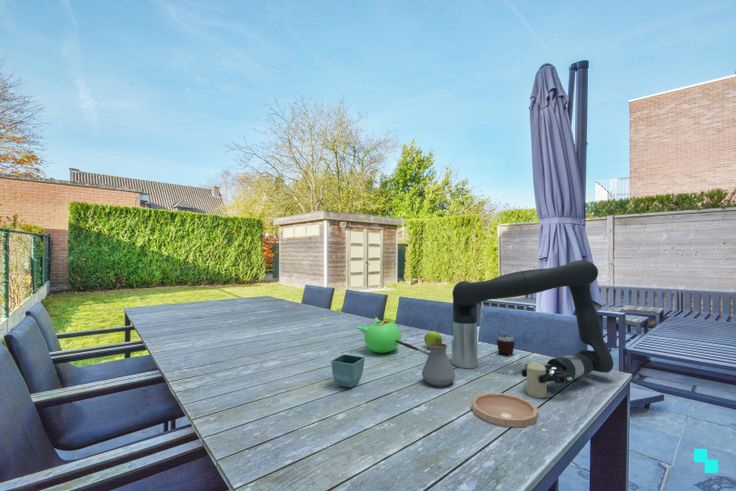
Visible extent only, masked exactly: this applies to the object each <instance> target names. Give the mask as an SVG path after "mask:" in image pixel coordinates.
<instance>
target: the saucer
mask: <svg viewBox="0 0 736 491" xmlns="http://www.w3.org/2000/svg"><path fill="white" fill-rule="evenodd" d="M470 403H471V410H472V411H473V413H474V415H475V416H476V417H478V418H480V419H481V420H483V421H485V422H487V423H489V422H490V424H493V425H497V426H501V427H504V428H526V427H529V426H532V425H535V424H536V423H537V422H538V418H539V409H538V408H537V407H536V405H535V404H534V403H533V402H531V401H529V400H527V399H524V398H522V397H520V396H519V395H518V396H517V395H512V394H507V393H501V392H486V393H481V394H477V395H475V396H474V398H472V399H471V402H470Z"/></svg>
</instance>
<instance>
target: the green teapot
mask: <svg viewBox="0 0 736 491" xmlns="http://www.w3.org/2000/svg"><path fill="white" fill-rule="evenodd" d="M356 329H357V330H358V331H360V332H362V333H364V342H365V345H366V346H367V348H368V349H369V350H371V351H372V352H375V353H379V354H385V353H390V352H391V351H392V352H393V351H394V350H396V348H397V347H399V345H400V343H397V342H396V344H395V343H394V341H395V340H398V341H400V342H401V341H402V340H401V339H402V333H401V330H400V328H399V326H397V324H395V323H394V322H391V321H389V320H387V319H386V320H380V319H379V318H378V317H374V319H373V323H371V324H370V325H369V326H368V325H367V326H366V325H358V326H357V327H356Z"/></svg>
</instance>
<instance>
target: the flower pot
mask: <svg viewBox="0 0 736 491" xmlns="http://www.w3.org/2000/svg"><path fill="white" fill-rule="evenodd" d="M330 363H331V370H332V377H333V378H334V379H333V380H334V381H335V383H336V385H337V386H338V385H339V386H338V387H341V386H345V387H344V388H346V387H352V388H354V387H355V386H356V385H357V384H358V383H359V381H360V380H361V378H362V375H363V371H364V368H365V366H364V365H365V356H358V355H352V354H345V353H344V354H341V355H339V356H338V357H336V358H334V359H332V360H331V361H330ZM354 385H355V386H354ZM353 386H354V387H353Z"/></svg>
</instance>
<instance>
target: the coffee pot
mask: <svg viewBox="0 0 736 491" xmlns="http://www.w3.org/2000/svg"><path fill="white" fill-rule="evenodd" d="M396 342H397V343H399V345H400V346H401V345H402V346H404V347H406V348H409V349H411V350H414V351H417V352H420V353H422V354H424V355H427V356H428V357H427V359H426V361H425V363H424V365H423V366H424V367H423V368H422V371H421V375H422V378H423V379H424V380H425V382H427V384H428V383H429V385H430V384H431V385H430V386H433V385H435V386H434V387H447V386H450V384H451V383H452V382H453V381H454V380H455V378H456V372H455V371H454V369H453V366H452V362H451V361H450V359H449V356H448V354H447V352H446V351H447V348H448V345H447V344H446V343H443V342H442V343H431V344H429V349H430V352H428V351H426V350H423V349H421V348H418V347H416V346H414V345H412V344H409V343H407V342H403V341H402V340H401V341H398V340H395V341H394V343H395V344H396Z"/></svg>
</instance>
